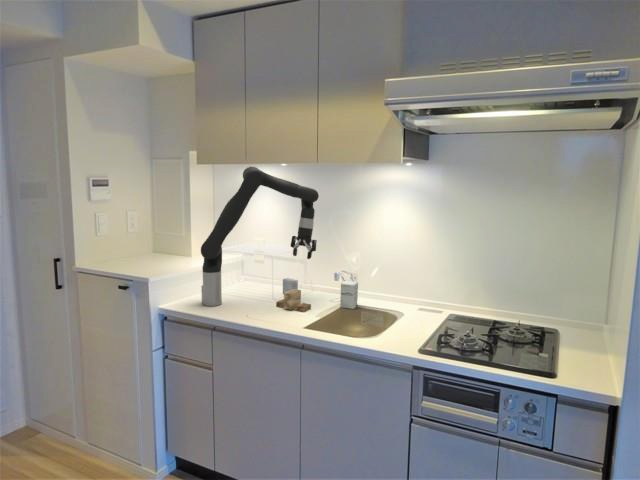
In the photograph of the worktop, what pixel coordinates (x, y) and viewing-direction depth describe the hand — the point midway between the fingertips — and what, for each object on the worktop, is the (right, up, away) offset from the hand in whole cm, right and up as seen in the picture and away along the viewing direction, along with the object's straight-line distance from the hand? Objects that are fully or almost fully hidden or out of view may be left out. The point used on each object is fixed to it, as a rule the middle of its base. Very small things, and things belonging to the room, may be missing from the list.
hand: (301, 257), depth 243 cm
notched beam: (-4, -25, -10) cm, 27 cm away
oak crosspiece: (-4, -25, -10) cm, 27 cm away
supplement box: (+24, -25, -6) cm, 36 cm away
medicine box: (-7, -22, +15) cm, 27 cm away
